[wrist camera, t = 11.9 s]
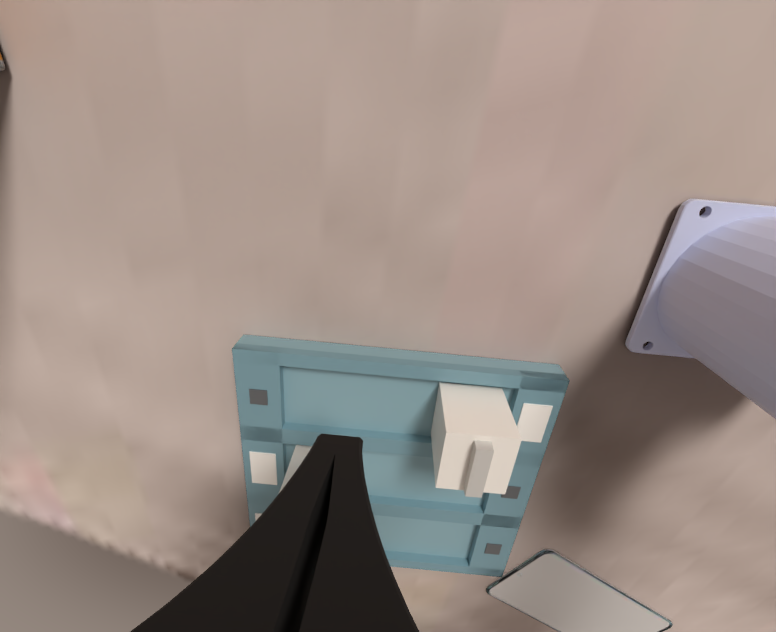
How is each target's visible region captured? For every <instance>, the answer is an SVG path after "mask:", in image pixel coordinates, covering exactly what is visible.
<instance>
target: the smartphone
mask: <svg viewBox="0 0 776 632" xmlns="http://www.w3.org/2000/svg"><path fill="white" fill-rule="evenodd" d="M487 593H488V594H489V595H491V596H493V597H494V598H496V599H498V600H500V601H502V602H504V603H506V604H508V605H510V606H511V607H513V608H515V609H517V610H519V611H521V612H523V613H525V614H527V615H528V616H530V617H532V618H534V619H536V620H538V621H540V622H542V623H544V624H545V625H547V626H549V627H551V628H553V629H555V630H557V631H559V632H663V631H665V630H667V629H669V628H671V627H672V625H673V624H672V622H671V621H670V620H668V619H667V618H665V617H663V616H662V615H660V614H658V613H657V612H655V611H653V610H652V609H650V608H648V607H647V606H645V605H643V604H642V603H640V602H638V601H637V600H635V599H633V598H632V597H630V596H628V595H627V594H625V593H623V592H622V591H620V590H618V589H617V588H615V587H613V586H612V585H610V584H608V583H607V582H605V581H603V580H602V579H600V578H598V577H597V576H595V575H594V574H592V573H590V572H589V571H587V570H586V569H584V568H582V567H581V566H579V565H578V564H576V563H574V562H572V561H570V560H569V559H567V558H566V557H564V556H563V555H560V554H559V553H557V552H555V551H553V550H550V549H545V550H542V551H540V552H539V553H537V554H536V555H534V556H533V557H531V558H530V559H528V560H527V561H525V562H524V563H522V564H521V565H519V566H518V567H516V568H515V569H513V570H512V571H510V572H509V573H507V574H506V575H504V576H503V577H501V578H500V579H498V580H497V581H495V582H494V583H492V584H491V585H489V586H488V587H487Z"/></svg>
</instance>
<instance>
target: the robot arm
mask: <svg viewBox="0 0 776 632" xmlns="http://www.w3.org/2000/svg"><path fill="white" fill-rule="evenodd" d="M703 207H705V208H706V209H705V212H704V213H703V214H702V215H701V216H700V215H699V212H700V210H701V209H702V208H703ZM646 342H649V343H648V344H647V345H646V346H643V345H644V343H646ZM625 345H626V347H627V348H628V349H629V350H630V351H631V352H634V353H643V354H654V355H664V356H675V357H685V358H696V359H697V360H698V361H700V362H701V363H702V364H704V365H705V366H706V367H708V368H709V369H710V370H712V371H713V372H714V373H716V374H717V375H718V376H719V377H721V378H722V379H723V380H725V381H726V382H727V383H729V384H730V385H731V386H733V387H734V388H735V389H737V390H738V391H739V392H741V393H742V394H743V395H745V396H746V397H747V398H748V399H750V400H751V401H752V402H754V403H755V404H756V405H758V406H759V407H760V408H762V409H763V410H764V411H766V412H767V413H768V414H770V415H771V416H772V417H773V418H775V419H776V206H767V205H756V204H746V203H735V202H725V201H714V200H703V199H688V200H686V201H685V202H683V203H682V204H681V206H680V207H679V209H678V211H677V214H676V216H675V219H674V221H673V224H672V226H671V229H670V231H669V234H668V236H667V239H666V241H665V244H664V246H663V249H662V251H661V254H660V256H659V259H658V262H657V264H656V267H655V269H654V272H653V274H652V277H651V279H650V282H649V284H648V287H647V289H646V292H645V294H644V297H643V299H642V302H641V304H640V307H639V309H638V312H637V314H636V317H635V319H634V322H633V324H632V327H631V329H630V332H629V334H628V337H627V339H626V343H625ZM362 449H363V440H362V439H361V438H360V437H352V436H342V435H332V434H320V435H319V436H318V437H317V439H316V440H315V442H314V444H313V446H312V447H311V449H310V451H309V452H308V454H307V455H306V457H305V458H304V460H303V461H302V463H301V464H300V466H299V467H298V469H297V470H296V472H295V473H294V474H293V476H292V477H291V478H290V480H289V481H288V482H287V484H286V485H285V487H284V488H283V489H282V490H281V492H280V493H279V494H278V495H277V496H276V498H275V499H274V500H273V501H272V503H271V504H270V505H269V506H268V507H267V509H266V510H265V511H264V512H263V513H262V515H261V516H260V517H259V518H258V519H257V520H256V521H255V522H254V523H253V525H252V526H251V527H250V528H249V529H248V530H247V531H246V532H245V533H244V534H243V535H242V536H241V537H240V538H239V539H238V540H237V541H236V542H235V543H234V544H233V545H232V546H231V547H230V548H229V549H228V550H227V551H226V552H225V553H224V554H223V555H222V556H221V557H220V558H219V559H218V560H217V561H216V562H215V563H214V564H213V565H211V566H210V567H209V568H208V569H207V570H206V571H205V572H204V573H203V574H201V575H200V576H199V577H198V578H197V579H196V580H194V581H193V582H192V583H191V584H190V585H189V586H187V587H186V588H185V589H184V590H183V591H182V592H180V593H179V594H178V595H177V596H176V597H174V598H173V599H172V600H171V601H170V602H168V603H167V604H166V605H165V606H163V607H162V608H161V609H160V610H158V611H157V612H156V613H154V614H153V615H152V616H150V617H149V618H148V619H147V620H145V621H144V622H143V623H141V624H140V625H138V626H137V627H136V628H135V629H133V630H132V631H131V632H419V630H418V628H417V626H416V624H415V622H414V620H413V618H412V616H411V614H410V612H409V610H408V607H407V605H406V603H405V600H404V598H403V596H402V593H401V591H400V589H399V587H398V584H397V582H396V580H395V577H394V575H393V572H392V570H391V567H390V564H389V562H388V559H387V556H386V554H385V551H384V548H383V545H382V542H381V539H380V536H379V533H378V529H377V526H376V523H375V519H374V515H373V512H372V508H371V504H370V500H369V495H368V490H367V485H366V480H365V474H364V466H363V455H362Z"/></svg>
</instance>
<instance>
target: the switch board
mask: <svg viewBox="0 0 776 632" xmlns="http://www.w3.org/2000/svg"><path fill="white" fill-rule="evenodd" d="M232 353H233V363H234V373H235V383H236V392H237V402H238V412H239V422H240V432H241V442H242V452H243V461H244V471H245V481H246V491H247V501H248V511H249V521H250V527H251V526H252V525H253V523H254V522H255V521H256V520H257V519H258V518H259V517H260V516H261V515H262V513H263V512H264V511H265V510H266V509H267V507H268V506H269V505H270V504H271V503H272V501H273V500H274V499H275V498H276V496H277V495H278V494H279V491H280V489H281V486H282V483H283V480H284V477H285V475H286V472H287V469H288V466H289V463H290V461H291V458H292V455H293V452H294V449H295V447H296V445H306V446H313V444H314V442H315V440H316V439H317V437H318V436H319V435H320V434H332V435H342V436H352V437H360V438H361V439H362V440H363V449H362V455H363V466H364V474H365V480H366V485H367V490H368V495H369V500H370V504H371V508H372V512H373V515H374V519H375V523H376V526H377V529H378V533H379V536H380V539H381V542H382V545H383V548H384V551H385V554H386V556H387V559H388V562H389V564H390V566H392V567H403V568H413V569H423V570H434V571H444V572H455V573H465V574H475V575H486V576H496V577H502V575H503V572H504V569H505V567H506V564H507V561H508V558H509V555H510V552H511V549H512V546H513V543H514V540H515V538H516V535H517V532H518V529H519V526H520V523H521V520H522V517H523V514H524V511H525V509H526V506H527V503H528V500H529V497H530V494H531V491H532V488H533V485H534V482H535V480H536V477H537V474H538V471H539V468H540V465H541V462H542V459H543V456H544V453H545V451H546V448H547V445H548V442H549V439H550V436H551V433H552V430H553V427H554V424H555V422H556V419H557V416H558V413H559V410H560V407H561V404H562V401H563V398H564V395H565V393H566V390H567V387H568V384H569V379H568V378H567V376H566V375H565V373H564V372H563V370H562V369H561V367H560V366H559V365H557V364H547V363H536V362H526V361H515V360H505V359H494V358H484V357H473V356H463V355H452V354H442V353H431V352H421V351H410V350H400V349H389V348H379V347H368V346H358V345H347V344H337V343H327V342H316V341H306V340H295V339H285V338H274V337H264V336H253V335H243V336H242V337H241V338H240V340H239V341H238V342H237V343H236V344H235V346H234V347H233V348H232ZM439 382H444V383H454V384H465V385H475V386H486V387H496V388H502V389H503V392H504V394H505V397H506V399H507V402H508V405H509V407H510V410H511V412H512V415H513V418H514V420H515V423H516V425H517V428H518V431H519V433H520V436H521V438H522V441H521V444H520V447H519V451H518V454H517V457H516V461H515V464H514V467H513V470H512V474H511V477H510V480H509V483H508V487H507V490H506V493H505V494H496V493H485V492H483V495H482V498H478V497H467V496H465V493H464V490H454V489H443V488H436V487H435V475H434V463H433V452H432V440H431V428H432V422H433V416H434V411H435V405H436V399H437V393H438V387H439Z"/></svg>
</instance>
